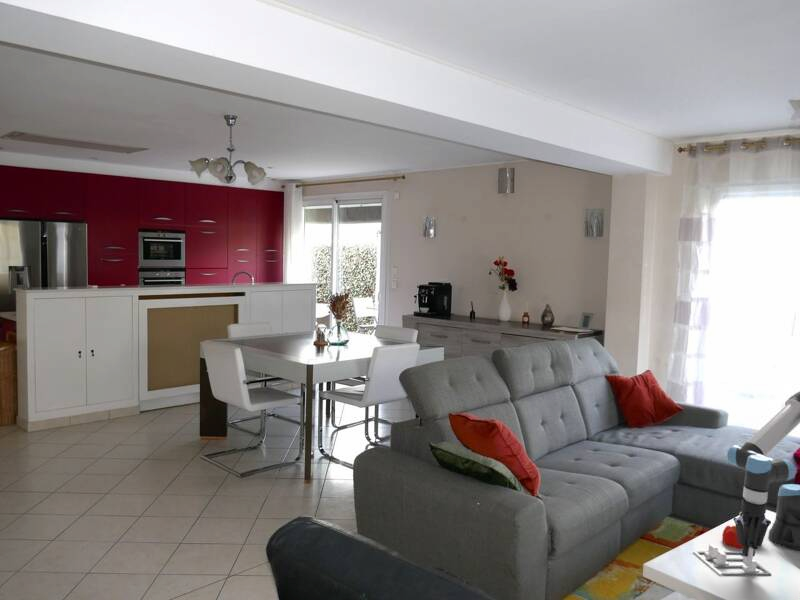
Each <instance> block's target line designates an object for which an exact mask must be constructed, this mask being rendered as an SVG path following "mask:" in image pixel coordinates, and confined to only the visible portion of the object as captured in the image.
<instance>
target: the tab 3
mask: <svg viewBox="0 0 800 600" xmlns="http://www.w3.org/2000/svg"><path fill="white" fill-rule="evenodd" d="M757 563H758V562H757V560H755V559H754V558H753V559H752V567H748V566H743V568H741V569H742V570H744V572H745V573H760V569H759V568H756V564H757Z"/></svg>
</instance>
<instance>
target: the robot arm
mask: <svg viewBox="0 0 800 600" xmlns="http://www.w3.org/2000/svg"><path fill="white" fill-rule="evenodd" d="M799 424H800V391H798V392H797V393H796V392H795V393H794V394H793V395H791V396H790V397H789V398H788V399H787V400H786V401H785V402H784V406H783V407H782V408H781V409H780V410H779V411H778V412H777V413H776V414H775V415H774V416H773V417H772V418H771V419H769V421H768V422H767V423H766V424H764V426H762V427H761V428H760V430H758V431H756V433H755V434H754V435H753V436H752V437H751V438H749V440H747V441H746V442H745V443H744V444H743V445H742V446H741V445H737V444H736V445H732V446H731V447H730V448H729V449H728V451H727V454H726V457H727V460H728V463H730V464H731V465H733V466H735V467H737V468H739V469H742V470H745V472H744V473H745V474H744V475H745V476H744V484H743V490H742V492H743V493H742V501H741V512H742V513H741V514H740V515H739V517H734V518H733V522H734V524H735V526H736V531H737V540H738V543H739V544H740V545H742V546H743V548H742V551H741V552H742V554H743V555H744V556H742V557H743V561H742V563H743V564H744V565H746V566H748V567H752V559H754V557H755V556H756V550H758V549H759V547H762V545H763V542H764V539H765V537H766V533H767V530H768V528H769V527H770V525H771V523H772V522H771V520H769V519H768V518H766V515H765V514H767V505H768V504H767V503H768V496H769V488H770V487H769V486H770V484H773V483H784V482H787V481H790V480H792V479H794V478H795V476H796V467H795V466H794V464H793V463H792V462H791V461H790V460H789V459H785V458H779V459H778V458H777V459H776V458H774V457H772V456H771V457H770V456H768V454H769V453H770V452H771V451H772V450H773V449H774V448H775V447H776V446H777V445H779V443H780V442H782V440H784V438H786V437H787V436H788V435H789V434H790V433H791V432H792V431H793V430H794V429H795V428H796V427H797V426H798V425H799ZM743 522H744V524H743ZM742 524H743V525H744V529H743V525H742ZM767 537H768V539H769V540H770V541H771V542H772V543H774V544H776V545H778V546H779V547H783V548H786V549H789V550H793V551H799V552H800V484H796V483H795V484H794V483H790V484H789V483H788V484H787V483H786V484H782V485H780V487H779V489H778V493H777V502H776V513H775V519H774V522H773V523H772V526H771V528H770V529H769V531H768V536H767Z"/></svg>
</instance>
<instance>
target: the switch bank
mask: <svg viewBox="0 0 800 600" xmlns="http://www.w3.org/2000/svg"><path fill="white" fill-rule="evenodd" d="M705 552H708V551H700V550H699V551H698V550H697V551H696V550H695V551H693V552H692V553H693V555H695V556H696V557H697V558H698V559H700V560H701V562H703V563H704V564H706V565H707V567H709V568H710V569H711V570H712V571H714V572H715V573H716V575H718V576H720V577H721V576H723V577H725V576H726V577H727V576H730V577H732V576H733V577H734V576H737V577H738V576H740V577H741V576H743V577H744V576H745V577H746V576H747V577H748V576H752V577H753V576H757V577H758V576H759V577H760V576H767V577H768V576H770V577H771V576H772V573H771V572H770V571H768V570H767V569H766V568H764V567H763V566H762V565H761V564H759V563H758V562H757V564H756V569H758V570H761V571H762V572H759V573H747V572H721V571H720V570H719V569H742V568H743V566H746V565H745V564H744V565H743V564H742V565H739V564H737V565H736V564H733V565H732V564H729V565H716V564H715V565H714V564H711V563H710V562H713V559H717V558H708V557H706V558H705V557H703V556H702V555H705ZM723 552H724V553H725V554H727V555H741V556H742V557H743V556H744V555H743V554H742V551H723ZM742 557H739V558H730V557H729V558H727V557H726V561H727V562H743V558H742Z"/></svg>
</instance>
